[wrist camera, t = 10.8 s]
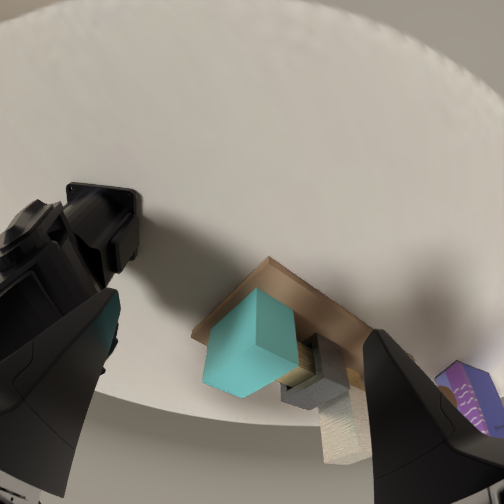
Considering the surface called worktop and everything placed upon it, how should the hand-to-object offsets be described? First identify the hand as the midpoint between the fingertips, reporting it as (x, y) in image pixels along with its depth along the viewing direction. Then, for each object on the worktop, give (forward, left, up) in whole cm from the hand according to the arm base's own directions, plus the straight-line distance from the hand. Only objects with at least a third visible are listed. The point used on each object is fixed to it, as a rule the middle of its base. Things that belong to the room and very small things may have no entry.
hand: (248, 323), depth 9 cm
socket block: (+2, -13, -12) cm, 17 cm away
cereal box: (+43, -24, -13) cm, 51 cm away
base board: (+10, -17, -13) cm, 23 cm away
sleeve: (+9, -16, -12) cm, 22 cm away
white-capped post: (+8, -16, -11) cm, 21 cm away
